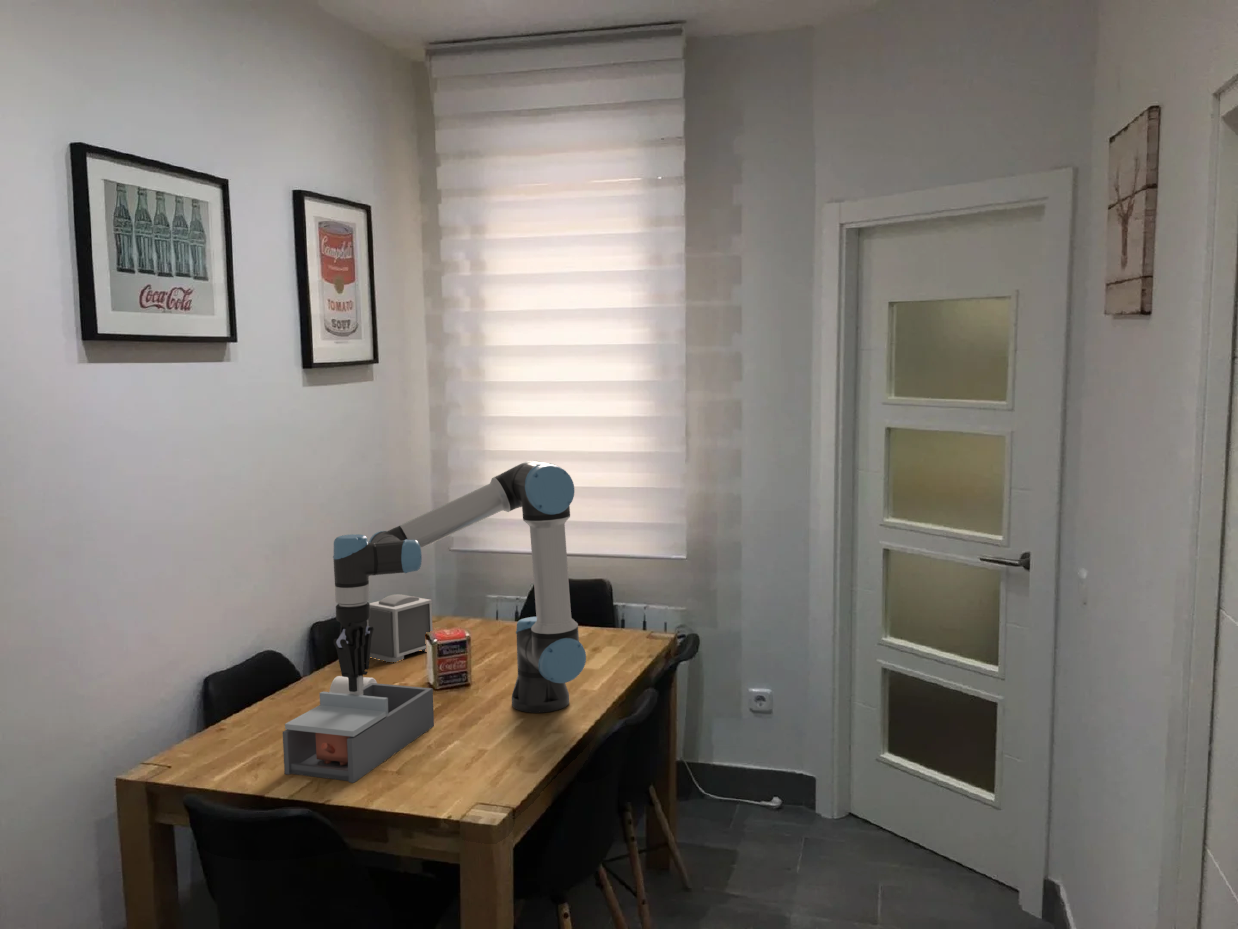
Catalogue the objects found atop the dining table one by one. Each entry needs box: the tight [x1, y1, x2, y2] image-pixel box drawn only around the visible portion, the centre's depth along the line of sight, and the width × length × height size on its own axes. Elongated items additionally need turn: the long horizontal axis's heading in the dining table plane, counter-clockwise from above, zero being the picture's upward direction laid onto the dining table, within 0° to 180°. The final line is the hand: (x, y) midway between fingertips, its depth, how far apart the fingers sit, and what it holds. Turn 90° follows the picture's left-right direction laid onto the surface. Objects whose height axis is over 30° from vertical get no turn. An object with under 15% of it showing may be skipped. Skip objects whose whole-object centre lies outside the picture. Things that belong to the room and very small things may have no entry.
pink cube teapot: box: [315, 733, 351, 765], centre depth 215 cm, size 8×12×8 cm, turn 164°
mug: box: [329, 675, 378, 694], centre depth 256 cm, size 12×10×8 cm
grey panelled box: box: [366, 593, 434, 663], centre depth 304 cm, size 18×13×18 cm
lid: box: [284, 691, 388, 737], centre depth 215 cm, size 17×14×4 cm
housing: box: [282, 682, 435, 784], centre depth 225 cm, size 17×35×10 cm, turn 162°
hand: (356, 703), depth 222 cm, fingers closed
